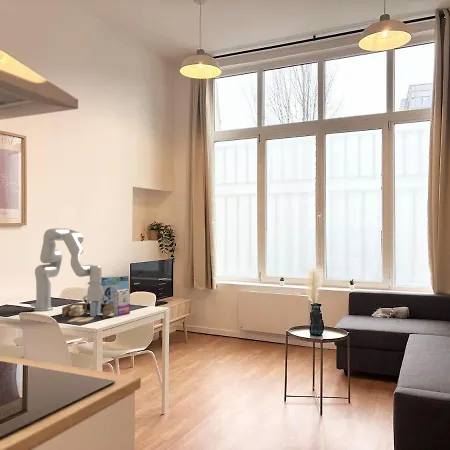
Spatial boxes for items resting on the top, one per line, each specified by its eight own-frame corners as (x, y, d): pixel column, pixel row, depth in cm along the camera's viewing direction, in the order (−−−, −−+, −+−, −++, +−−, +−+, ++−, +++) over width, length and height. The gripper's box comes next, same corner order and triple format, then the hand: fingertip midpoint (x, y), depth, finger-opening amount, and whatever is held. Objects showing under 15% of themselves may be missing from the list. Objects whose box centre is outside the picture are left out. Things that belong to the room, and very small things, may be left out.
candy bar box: (124, 312, 314) (124, 288, 315) (130, 313, 312) (130, 289, 312) (112, 315, 305) (112, 290, 305) (118, 316, 302) (118, 291, 302)
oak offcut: (68, 316, 304) (68, 311, 304) (74, 313, 313) (74, 309, 313) (79, 316, 304) (79, 312, 304) (84, 314, 312) (84, 309, 313)
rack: (62, 316, 300) (62, 307, 300) (73, 311, 318) (73, 303, 318) (104, 317, 298) (104, 308, 298) (113, 312, 316) (113, 303, 316)
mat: (67, 322, 284) (67, 321, 284) (75, 317, 297) (75, 317, 297) (86, 322, 283) (86, 321, 283) (93, 318, 296) (93, 317, 296)
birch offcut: (70, 311, 304) (70, 307, 304) (73, 309, 312) (73, 305, 312) (79, 311, 305) (79, 307, 305) (82, 309, 313) (82, 305, 313)
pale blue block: (90, 316, 303) (90, 302, 303) (95, 313, 313) (95, 300, 313) (95, 316, 302) (95, 302, 302) (100, 313, 312) (100, 300, 312)
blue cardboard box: (126, 306, 341) (126, 275, 341) (128, 307, 336) (129, 275, 336) (100, 308, 330) (100, 276, 330) (102, 310, 326) (102, 277, 326)
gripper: (80, 284, 304) (80, 310, 304) (106, 284, 303) (106, 311, 303) (85, 283, 312) (85, 308, 312) (110, 283, 311) (110, 309, 311)
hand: (95, 309), depth 307 cm, fingers open, 9 cm apart
